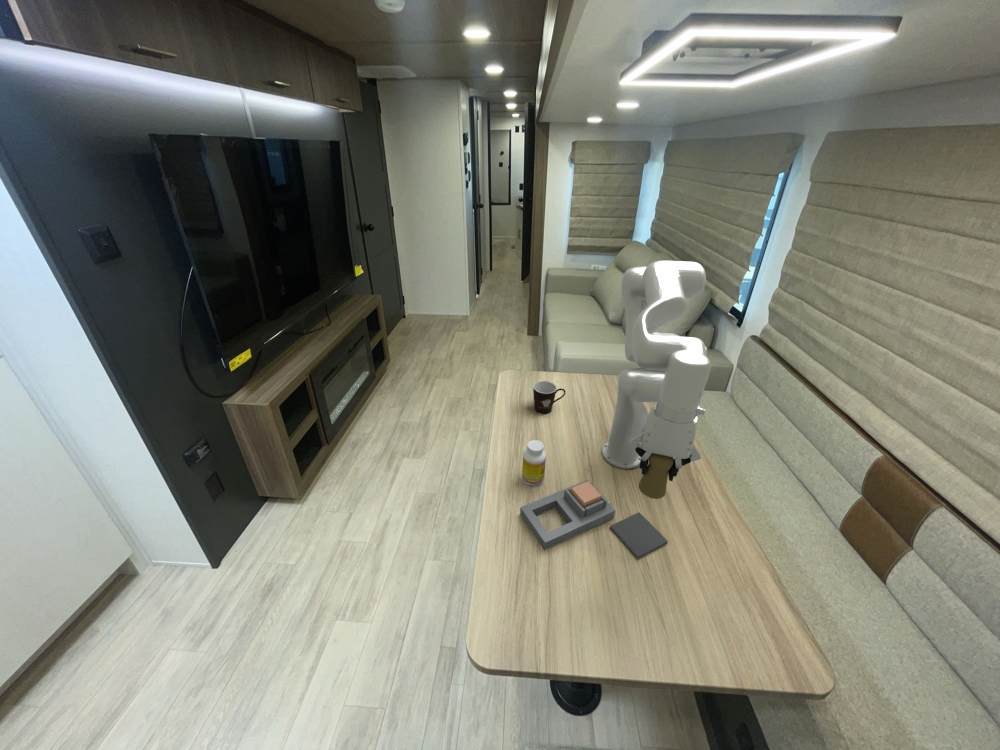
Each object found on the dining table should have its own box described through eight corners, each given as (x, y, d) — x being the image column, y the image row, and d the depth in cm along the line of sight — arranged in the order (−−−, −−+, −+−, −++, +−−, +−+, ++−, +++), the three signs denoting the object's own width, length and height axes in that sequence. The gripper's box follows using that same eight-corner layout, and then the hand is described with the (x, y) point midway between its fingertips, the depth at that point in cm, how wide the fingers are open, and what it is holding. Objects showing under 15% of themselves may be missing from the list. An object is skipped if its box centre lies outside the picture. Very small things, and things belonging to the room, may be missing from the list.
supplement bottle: (542, 488, 114) (545, 455, 107) (519, 484, 115) (522, 451, 109) (544, 472, 120) (548, 439, 113) (523, 468, 121) (525, 436, 114)
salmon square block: (586, 489, 109) (588, 481, 108) (599, 503, 105) (601, 495, 103) (570, 495, 107) (571, 488, 105) (583, 510, 103) (584, 502, 101)
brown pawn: (666, 501, 89) (678, 465, 83) (638, 495, 91) (648, 459, 85) (664, 482, 94) (676, 447, 88) (638, 476, 96) (648, 441, 90)
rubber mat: (638, 514, 107) (639, 512, 106) (667, 543, 99) (668, 540, 99) (609, 527, 103) (610, 525, 102) (637, 559, 95) (638, 557, 95)
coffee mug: (529, 413, 145) (530, 391, 140) (534, 401, 152) (535, 379, 147) (560, 419, 143) (563, 396, 137) (564, 406, 150) (566, 384, 145)
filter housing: (585, 487, 115) (588, 473, 112) (613, 518, 105) (617, 503, 103) (520, 514, 106) (521, 500, 103) (544, 550, 97) (546, 536, 94)
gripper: (718, 407, 82) (695, 471, 91) (633, 391, 86) (619, 454, 95) (724, 428, 75) (698, 495, 85) (632, 411, 80) (617, 476, 89)
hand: (656, 473), depth 90 cm, fingers closed on brown pawn, 5 cm apart
